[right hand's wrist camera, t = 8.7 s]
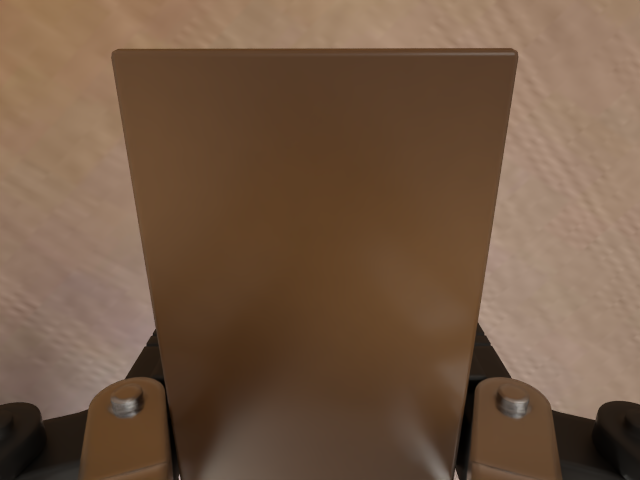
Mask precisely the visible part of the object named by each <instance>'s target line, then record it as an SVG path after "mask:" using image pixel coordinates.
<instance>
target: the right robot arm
mask: <svg viewBox="0 0 640 480" xmlns="http://www.w3.org/2000/svg"><path fill="white" fill-rule="evenodd" d="M455 468H456V471H457V474H458V477H459V480H640V404H636V403H632V402H626V401H612V402H608V403H605V404H603V405H602V406H601V407H600V408H599V410H598V413H597V416H596V420H592V419H587V418H583V417H578V416H574V415H569V414H565V413H561V412H557V411H554V410H552V409H551V406H550V403H549V402H548V400H547V399H546V397H545V396H544V395H543V394H542V393H541V392H539V391H538V390H537V389H535V388H534V387H532V386H530V385H528V384H526V383H524V382H522V381H519V380H515V379H512V378H511V376H510V375H509V373H508V371H507V370H506V368H505V366H504V365H503V363H502V361H501V360H500V358H499V356H498V355H497V353H496V351H495V350H494V348H493V347H492V346H491V343H490V342H489V340H488V338H487V337H486V336H485V335H484V332H483V330H482V328H481V327H480V325H479V323H477V329H476V336H475V342H474V349H473V355H472V362H471V368H470V375H469V381H468V388H467V394H466V401H465V407H464V414H463V420H462V427H461V433H460V440H459V447H458V453H457V460H456V466H455ZM179 474H180V472H179V466H178V460H177V453H176V447H175V441H174V435H173V429H172V423H171V417H170V411H169V405H168V399H167V393H166V387H165V380H164V374H163V368H162V362H161V356H160V350H159V344H158V338H157V332H156V329H155V331H154V333H153V336H151V337H150V339H149V341H148V342H147V346H146V347H144V349H143V350H142V352H141V354H140V355H139V357H138V359H137V360H136V362H135V363H134V365H133V367H132V368H131V370H130V372H129V373H128V375H127V376H126V378H125V380H121V381H118V382H116V383H114V384H111V385H110V386H108V387H106V388H105V389H103V390H102V391H100V392H99V393H98V394H97V395H96V396H95V397H94V399H93V400H92V401H91V403H90V406H89V409H88V410H85V411H82V412H79V413H75V414H71V415H66V416H62V417H57V418H53V419H48V420H44V421H43V420H42V417H41V413H40V411H39V409H38V408H37V407H36V406H34V405H33V404H29V403H23V402H16V403H8V404H4V405H0V480H179Z"/></svg>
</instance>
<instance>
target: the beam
mask: <svg viewBox="0 0 640 480" xmlns="http://www.w3.org/2000/svg"><path fill="white" fill-rule="evenodd" d="M111 58H112V64H113V70H114V76H115V83H116V89H117V95H118V101H119V107H120V113H121V119H122V125H123V131H124V137H125V143H126V149H127V156H128V162H129V168H130V174H131V180H132V186H133V192H134V198H135V204H136V210H137V216H138V222H139V228H140V235H141V241H142V247H143V253H144V259H145V265H146V271H147V277H148V283H149V289H150V295H151V301H152V308H153V314H154V320H155V326H156V332H157V338H158V344H159V350H160V356H161V362H162V368H163V374H164V380H165V387H166V393H167V399H168V405H169V411H170V417H171V423H172V429H173V435H174V441H175V447H176V453H177V460H178V466H179V472H180V478H181V480H453V479H454V473H455V466H456V460H457V453H458V447H459V440H460V433H461V427H462V420H463V414H464V407H465V401H466V394H467V388H468V381H469V375H470V368H471V362H472V355H473V349H474V342H475V336H476V329H477V323H478V316H479V310H480V303H481V296H482V290H483V283H484V277H485V270H486V264H487V257H488V251H489V244H490V238H491V231H492V225H493V218H494V212H495V205H496V199H497V192H498V186H499V179H500V173H501V166H502V159H503V153H504V146H505V140H506V133H507V127H508V120H509V114H510V107H511V101H512V94H513V88H514V81H515V75H516V68H517V62H518V52H517V51H516V50H514V49H512V48H410V49H117V50H115V51H113V52H112V57H111Z"/></svg>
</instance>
